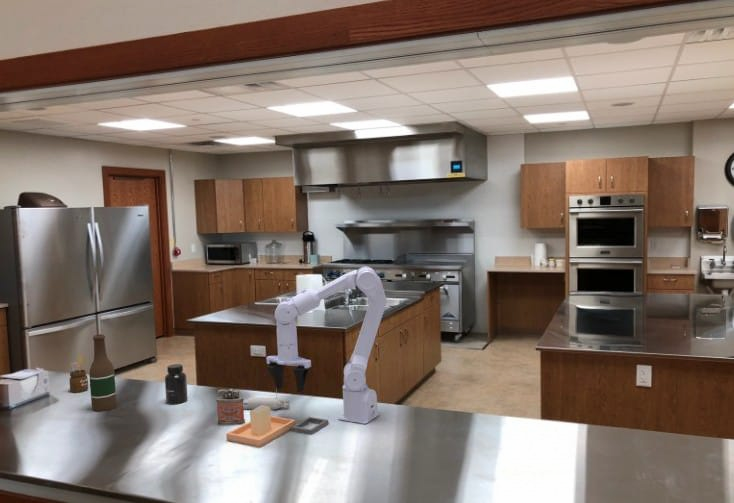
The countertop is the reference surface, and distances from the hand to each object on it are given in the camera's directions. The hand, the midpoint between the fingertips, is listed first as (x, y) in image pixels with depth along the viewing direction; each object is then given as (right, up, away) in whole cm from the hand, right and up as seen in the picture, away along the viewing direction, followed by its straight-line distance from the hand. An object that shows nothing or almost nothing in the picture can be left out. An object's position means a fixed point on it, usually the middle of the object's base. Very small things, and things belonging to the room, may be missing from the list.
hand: (290, 389), depth 171 cm
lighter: (-17, -10, +2) cm, 20 cm away
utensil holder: (-81, -10, +41) cm, 92 cm away
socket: (+6, -10, -5) cm, 13 cm away
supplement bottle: (-40, -10, +24) cm, 48 cm away
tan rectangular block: (-7, -10, -8) cm, 14 cm away
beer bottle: (-63, -11, +21) cm, 67 cm away
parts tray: (-7, -10, -8) cm, 15 cm away
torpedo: (-10, -9, +13) cm, 19 cm away
